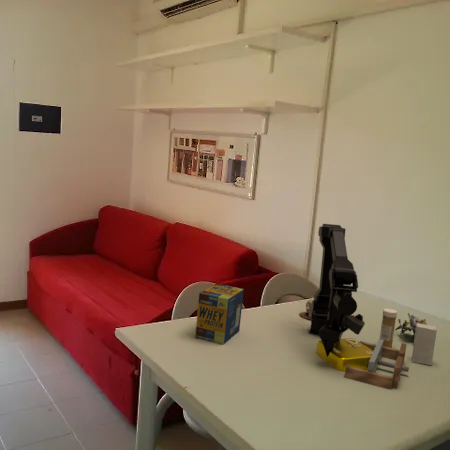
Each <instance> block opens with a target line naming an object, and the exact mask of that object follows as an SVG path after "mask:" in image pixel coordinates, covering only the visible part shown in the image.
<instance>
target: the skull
mask: <svg viewBox="0 0 450 450" xmlns="http://www.w3.org/2000/svg"><path fill="white" fill-rule="evenodd" d="M312 300H314V296H313V297H311V298H309V299H308V300H307V301H306V303H305V310H306V311H305V312H304V311H302V312H299V313H298V315H299V316H300V317H303V318H305V319H309V320H312V317H311V316H310V314H309V307H310V305H311V303H312Z"/></svg>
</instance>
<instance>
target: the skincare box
mask: <svg viewBox="0 0 450 450" xmlns="http://www.w3.org/2000/svg"><path fill="white" fill-rule="evenodd" d="M437 331H438V330H437V327H436V326H435V325H431V324H427V325H425V324H419V323H417V324H416V331H415V337H414V339H413V340H414V341H413V346H412V353H411V362H413V363H416V364H422V365H428V366H432V364H433V358H434V352H435V345H436V344H435V343H436V338H437Z"/></svg>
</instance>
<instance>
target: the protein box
mask: <svg viewBox="0 0 450 450" xmlns="http://www.w3.org/2000/svg"><path fill="white" fill-rule="evenodd" d="M244 290H245V289H244V288H239V287H236V286H235V287H234V286H230V285H227V284H226V285H225V284H220V283H215V284H214V285H212V286H210V287H208V288H206V289H204V290H203V291H200V292H199V293H198V304H197V313H196V314H197V316H196V324H195V326H196V328H195V339H199V340H203V341H207V342H211V343H216V344H220V345H225V344H226V343H227V342H229V341H230V340H231V339H232V338H234V336H235V335H237V334H238V333H240V327H241V326H240V325H241V319H242V309H243V297H244V292H245V291H244Z"/></svg>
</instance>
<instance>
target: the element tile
mask: <svg viewBox="0 0 450 450" xmlns="http://www.w3.org/2000/svg"><path fill="white" fill-rule="evenodd" d="M315 353H316V355H317V356H319V357H320V358H322V360H324V361H325V362H327V364H329V365H330V366H332V367H333V368H334V369H335V370H338V371H340V372H345V370H346V366H351V367H355V368H359V369H363V370H368V365H369V360H370V358H371V356H372V354H373V350H371V349H370V348H368V347H367V346H365V345H363V344H362V343H360V341H359V340H357V339H356V338H351V337H349V338H341V339H340V341H339V342H337V343H335V346H334V349H333V351H332V352H330V354H329V356H328V357H327V355H326V352H325V349H324V346H323V343H322V340H321V339H319V340H317V342H316V351H315ZM378 360H379V358H378ZM378 367H379V365H377V369H378Z"/></svg>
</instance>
